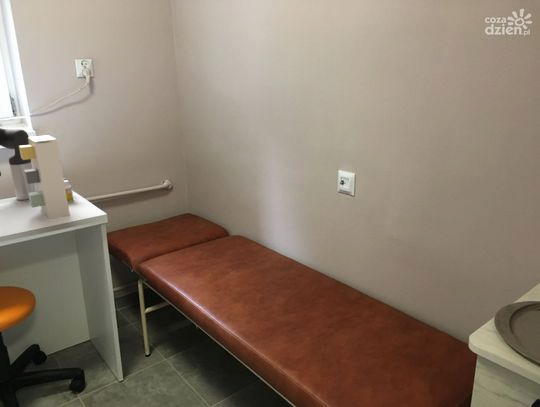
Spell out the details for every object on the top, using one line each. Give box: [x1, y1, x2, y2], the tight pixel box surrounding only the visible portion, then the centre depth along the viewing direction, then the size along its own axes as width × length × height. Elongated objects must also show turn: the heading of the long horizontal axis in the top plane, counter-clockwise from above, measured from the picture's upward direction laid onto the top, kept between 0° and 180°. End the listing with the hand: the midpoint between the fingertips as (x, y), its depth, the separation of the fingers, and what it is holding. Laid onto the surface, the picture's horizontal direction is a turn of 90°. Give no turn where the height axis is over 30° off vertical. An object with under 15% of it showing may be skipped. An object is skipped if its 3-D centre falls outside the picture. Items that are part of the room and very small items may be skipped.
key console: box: [28, 135, 71, 220], centre depth 185 cm, size 18×8×32 cm, turn 36°
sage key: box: [28, 190, 45, 208], centre depth 184 cm, size 6×6×5 cm
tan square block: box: [19, 145, 36, 160], centre depth 179 cm, size 6×6×5 cm
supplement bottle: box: [64, 179, 74, 203], centre depth 204 cm, size 5×5×10 cm
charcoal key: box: [24, 167, 40, 184], centre depth 182 cm, size 6×6×5 cm
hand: (0, 172), depth 174 cm, fingers closed
